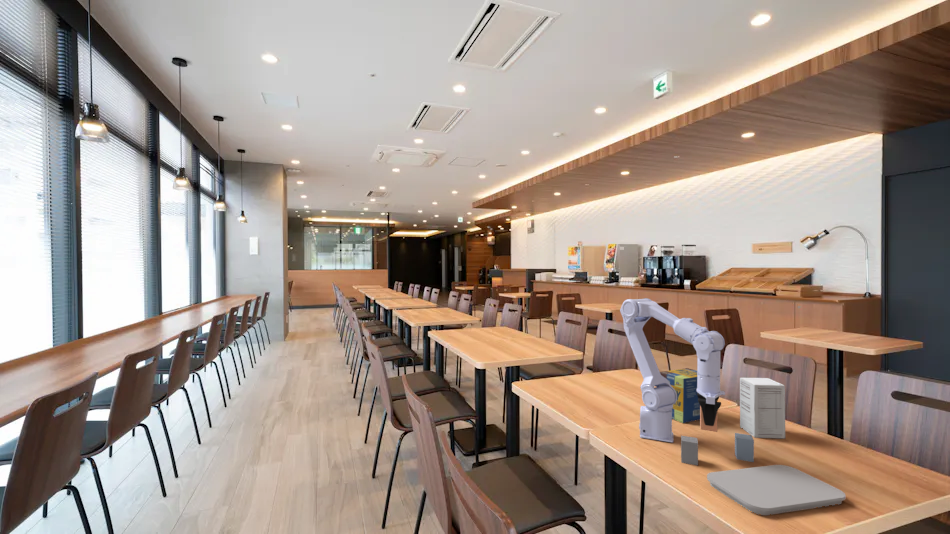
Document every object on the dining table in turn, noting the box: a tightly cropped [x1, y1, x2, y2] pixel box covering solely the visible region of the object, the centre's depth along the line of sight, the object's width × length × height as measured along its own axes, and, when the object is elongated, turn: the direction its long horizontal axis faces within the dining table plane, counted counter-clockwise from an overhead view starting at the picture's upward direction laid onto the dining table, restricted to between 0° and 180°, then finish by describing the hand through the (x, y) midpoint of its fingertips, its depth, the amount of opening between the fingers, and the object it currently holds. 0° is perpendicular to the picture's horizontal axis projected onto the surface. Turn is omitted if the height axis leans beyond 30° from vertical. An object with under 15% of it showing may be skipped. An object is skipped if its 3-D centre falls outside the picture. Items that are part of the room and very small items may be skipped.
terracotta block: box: [699, 406, 718, 433], centre depth 120 cm, size 4×4×6 cm
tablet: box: [706, 464, 846, 516], centre depth 100 cm, size 16×26×2 cm, turn 103°
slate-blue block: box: [734, 432, 755, 463], centre depth 119 cm, size 4×4×6 cm
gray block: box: [680, 435, 699, 466], centre depth 116 cm, size 4×4×6 cm
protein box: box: [660, 367, 700, 424], centre depth 153 cm, size 10×15×16 cm
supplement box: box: [739, 377, 786, 439], centre depth 137 cm, size 10×9×17 cm
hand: (708, 422), depth 120 cm, fingers closed on terracotta block, 4 cm apart
